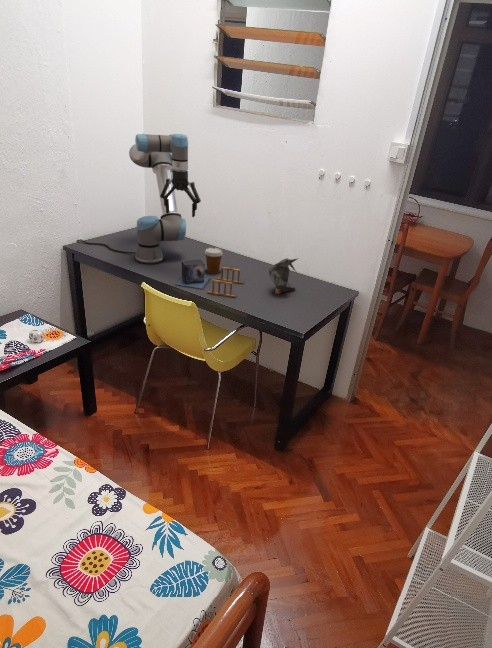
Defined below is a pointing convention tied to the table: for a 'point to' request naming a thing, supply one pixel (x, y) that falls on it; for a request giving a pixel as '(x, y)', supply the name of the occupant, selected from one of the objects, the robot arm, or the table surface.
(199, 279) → the small box
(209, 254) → the disposable coffee cup
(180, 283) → the felt mat
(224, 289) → the rack
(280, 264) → the bird figurine
